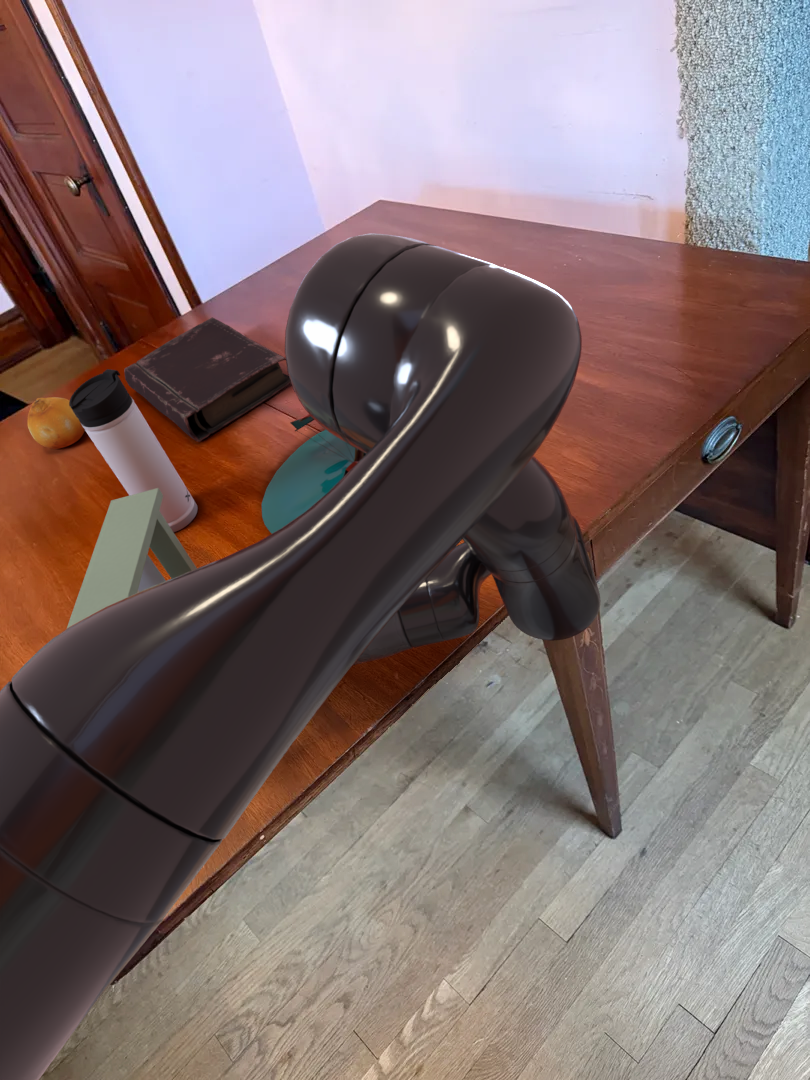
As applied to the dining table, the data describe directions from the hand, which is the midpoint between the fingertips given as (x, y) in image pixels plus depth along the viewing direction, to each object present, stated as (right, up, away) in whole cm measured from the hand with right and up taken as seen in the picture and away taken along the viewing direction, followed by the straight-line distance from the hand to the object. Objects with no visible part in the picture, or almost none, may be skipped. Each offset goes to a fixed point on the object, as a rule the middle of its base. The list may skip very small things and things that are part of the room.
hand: (158, 664), depth 64 cm
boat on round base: (+17, +18, +27) cm, 36 cm away
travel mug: (-8, +13, +31) cm, 35 cm away
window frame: (+1, -4, +8) cm, 10 cm away
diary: (-9, +34, +54) cm, 65 cm away
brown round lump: (-32, +26, +54) cm, 68 cm away
